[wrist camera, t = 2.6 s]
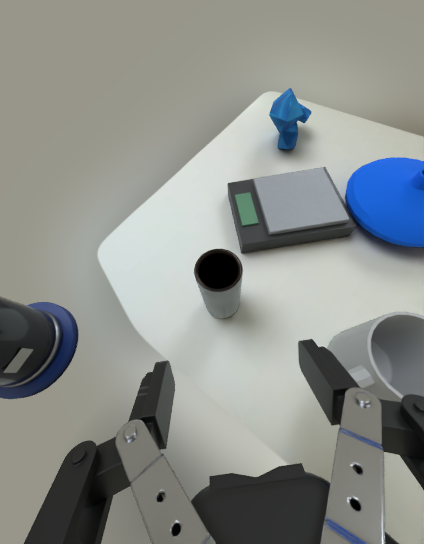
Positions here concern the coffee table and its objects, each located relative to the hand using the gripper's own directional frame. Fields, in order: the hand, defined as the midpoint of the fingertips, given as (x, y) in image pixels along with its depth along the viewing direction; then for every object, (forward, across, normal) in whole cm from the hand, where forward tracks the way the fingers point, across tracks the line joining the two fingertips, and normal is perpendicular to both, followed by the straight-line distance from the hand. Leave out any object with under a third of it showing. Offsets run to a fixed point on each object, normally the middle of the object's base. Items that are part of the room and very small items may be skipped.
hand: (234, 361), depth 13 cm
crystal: (+37, -17, -17) cm, 44 cm away
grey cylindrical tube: (+16, 0, +4) cm, 16 cm away
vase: (+23, -28, -3) cm, 36 cm away
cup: (+9, -13, +11) cm, 19 cm away
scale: (+25, -12, -5) cm, 28 cm away
